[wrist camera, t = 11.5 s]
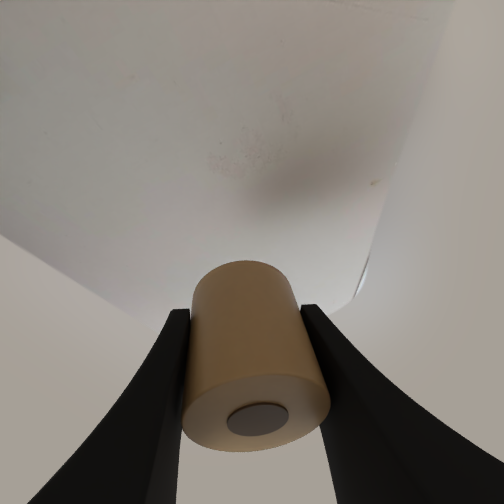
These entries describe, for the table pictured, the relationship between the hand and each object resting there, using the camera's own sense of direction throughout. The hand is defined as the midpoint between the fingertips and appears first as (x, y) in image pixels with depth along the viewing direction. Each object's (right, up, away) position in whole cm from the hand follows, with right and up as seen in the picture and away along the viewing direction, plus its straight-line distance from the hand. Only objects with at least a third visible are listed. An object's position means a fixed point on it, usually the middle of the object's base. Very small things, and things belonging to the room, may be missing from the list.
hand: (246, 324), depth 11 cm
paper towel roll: (0, +1, +1) cm, 1 cm away
